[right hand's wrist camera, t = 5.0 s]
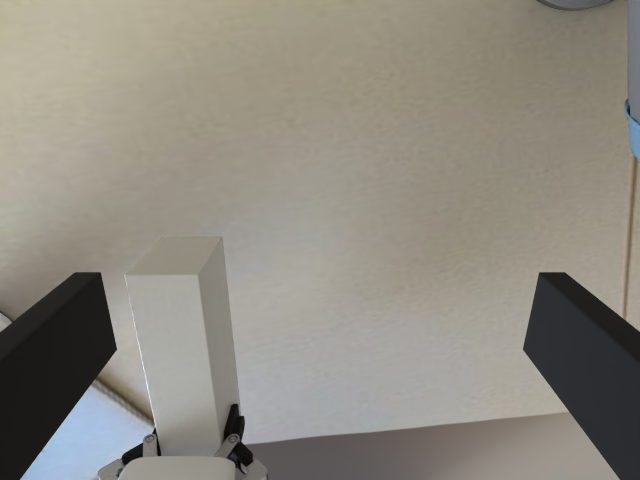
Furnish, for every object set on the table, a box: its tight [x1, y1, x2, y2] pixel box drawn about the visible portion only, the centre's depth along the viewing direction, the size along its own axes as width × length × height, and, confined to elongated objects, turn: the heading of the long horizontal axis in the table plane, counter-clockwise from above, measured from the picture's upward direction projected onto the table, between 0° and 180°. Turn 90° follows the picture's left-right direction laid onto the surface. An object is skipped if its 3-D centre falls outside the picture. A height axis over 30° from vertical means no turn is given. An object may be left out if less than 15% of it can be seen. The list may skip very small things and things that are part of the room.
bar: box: [125, 237, 241, 457], centre depth 41 cm, size 22×6×8 cm, turn 1°
